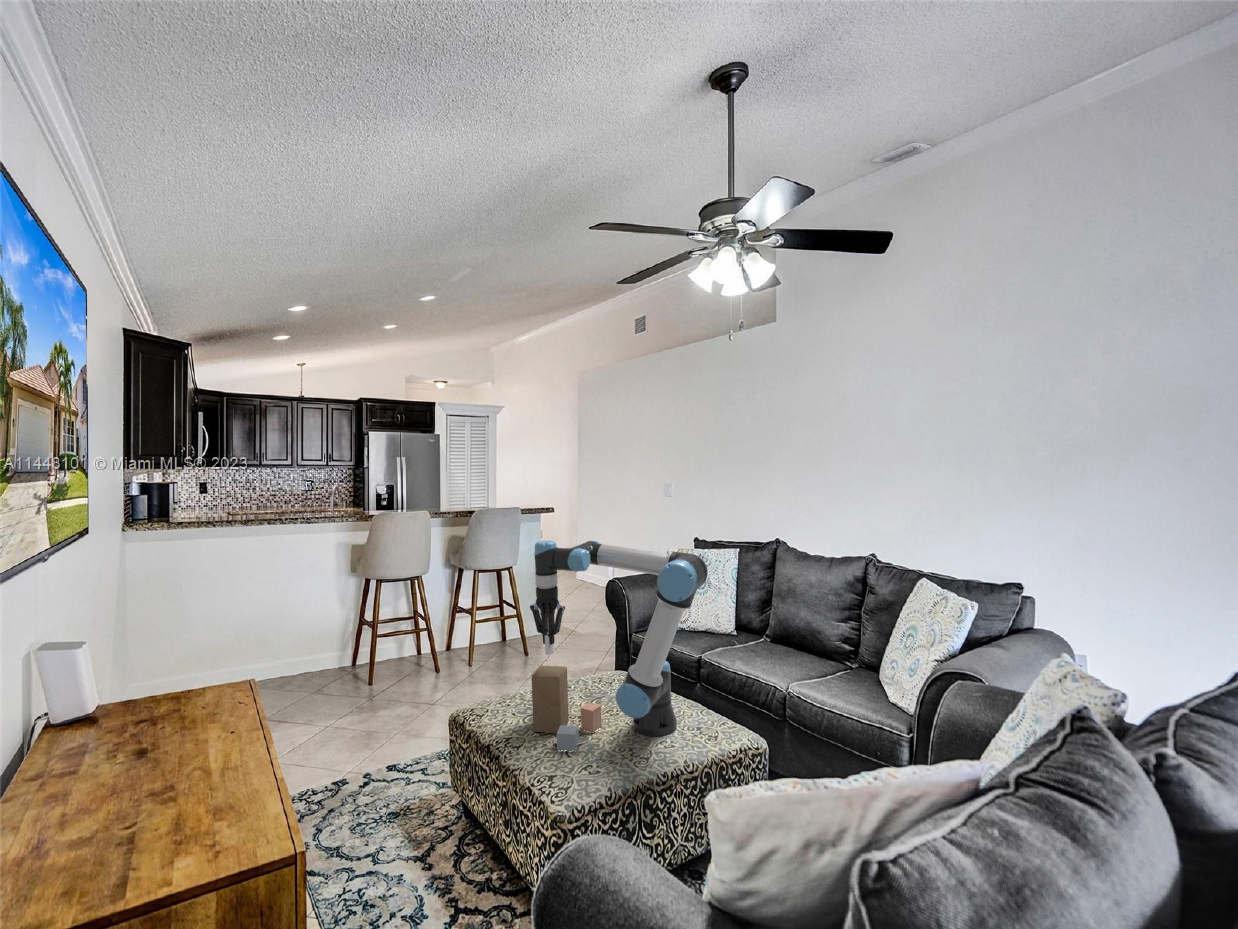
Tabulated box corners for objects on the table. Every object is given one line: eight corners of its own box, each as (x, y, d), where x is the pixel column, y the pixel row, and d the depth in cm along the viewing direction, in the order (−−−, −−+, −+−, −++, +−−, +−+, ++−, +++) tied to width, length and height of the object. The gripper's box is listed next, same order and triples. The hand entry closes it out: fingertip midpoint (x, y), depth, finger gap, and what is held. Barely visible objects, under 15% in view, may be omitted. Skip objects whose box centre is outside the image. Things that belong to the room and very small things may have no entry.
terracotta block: (601, 728, 219) (600, 705, 219) (593, 734, 215) (592, 711, 215) (589, 725, 222) (589, 702, 221) (581, 730, 218) (580, 708, 217)
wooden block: (561, 735, 215) (559, 677, 214) (533, 733, 217) (530, 675, 216) (569, 721, 225) (567, 666, 224) (542, 720, 227) (540, 665, 226)
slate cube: (578, 743, 209) (578, 725, 208) (575, 752, 203) (574, 734, 203) (561, 743, 209) (560, 725, 209) (557, 752, 204) (556, 733, 203)
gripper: (568, 584, 220) (570, 651, 221) (535, 582, 224) (537, 648, 225) (558, 589, 213) (560, 659, 214) (524, 587, 217) (527, 655, 219)
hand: (549, 653), depth 220 cm, fingers closed
